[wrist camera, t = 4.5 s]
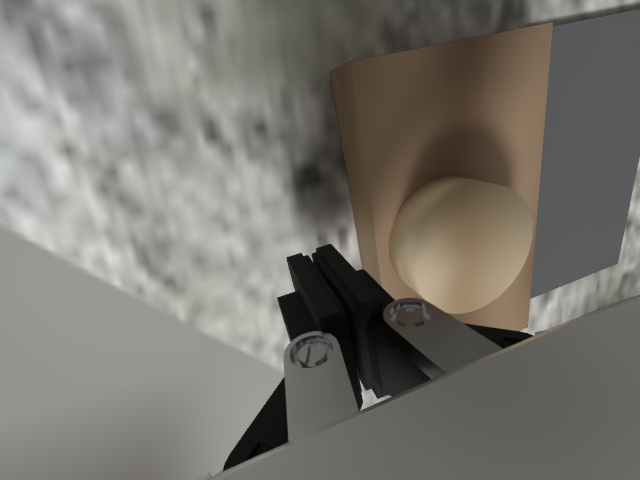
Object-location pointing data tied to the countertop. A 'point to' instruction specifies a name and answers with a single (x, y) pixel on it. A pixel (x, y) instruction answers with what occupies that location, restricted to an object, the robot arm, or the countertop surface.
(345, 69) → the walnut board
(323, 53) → the countertop surface
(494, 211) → the cream dome knob
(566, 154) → the rubber mat
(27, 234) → the countertop surface
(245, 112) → the countertop surface
